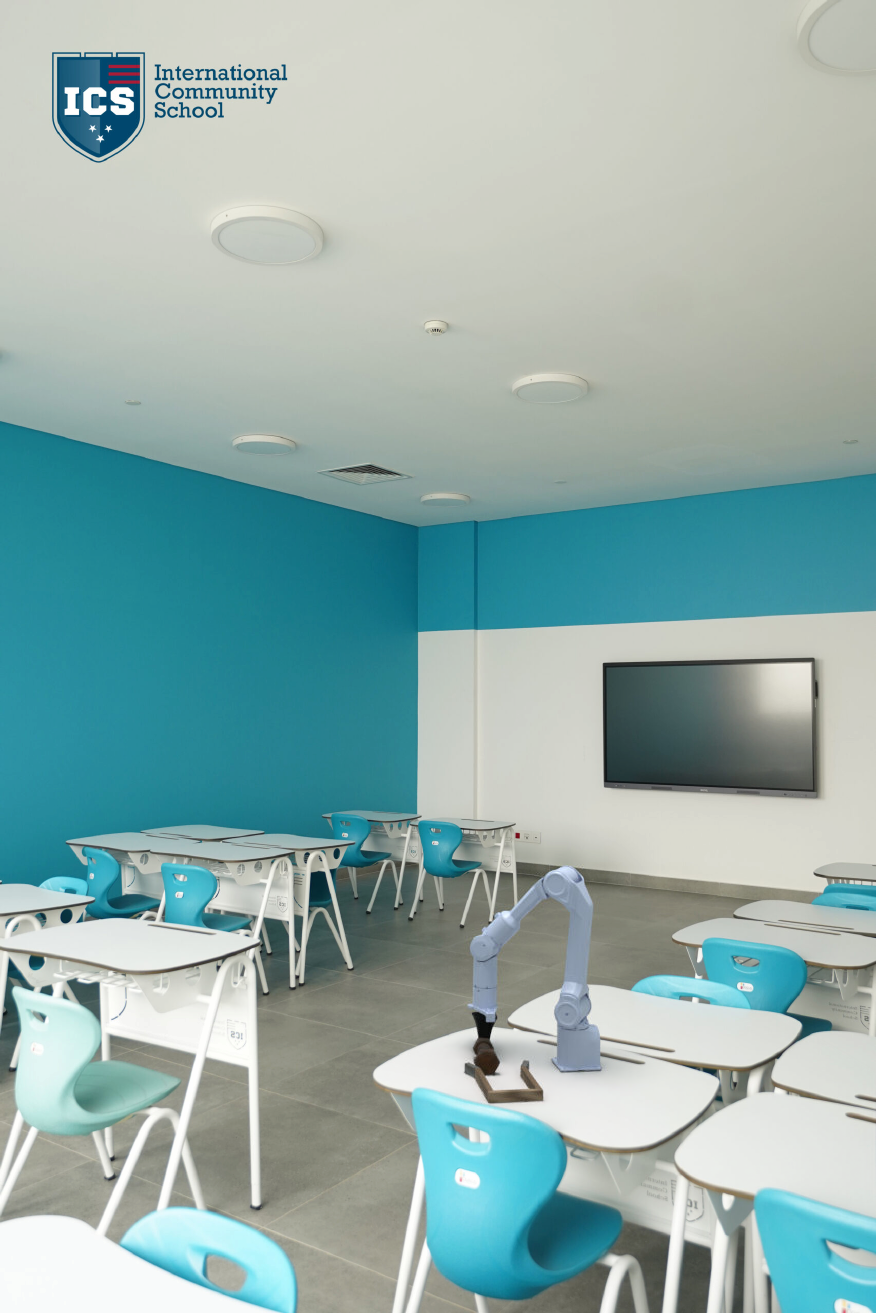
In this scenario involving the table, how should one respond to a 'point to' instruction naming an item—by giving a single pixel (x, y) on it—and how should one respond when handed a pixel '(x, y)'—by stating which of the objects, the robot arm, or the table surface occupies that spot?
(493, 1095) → the frame
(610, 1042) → the table surface
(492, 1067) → the bolt
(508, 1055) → the table surface
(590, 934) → the robot arm
